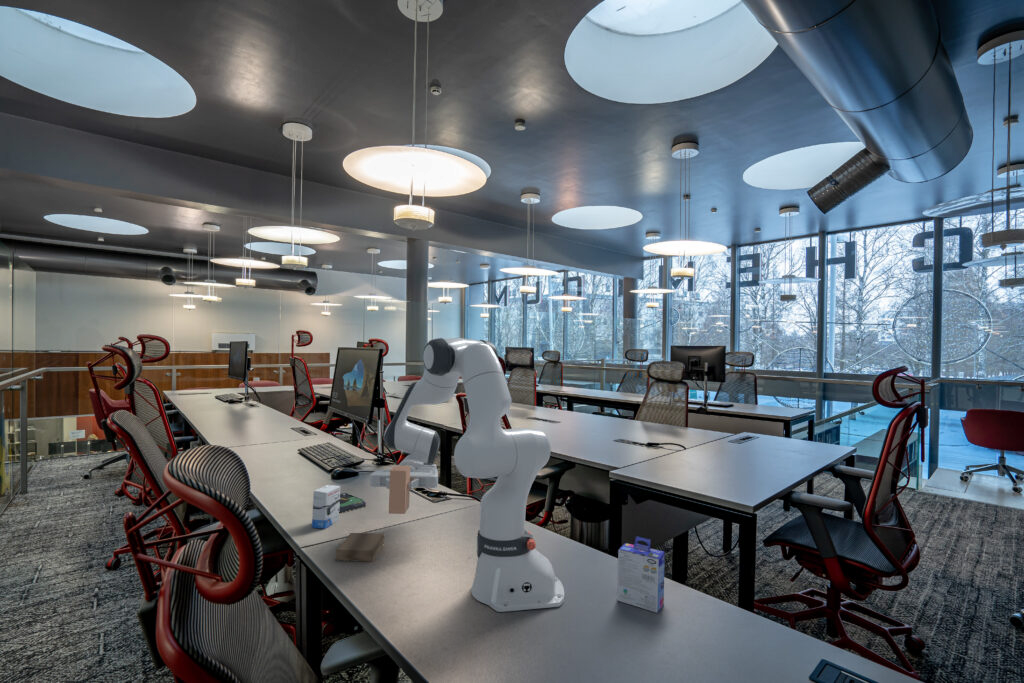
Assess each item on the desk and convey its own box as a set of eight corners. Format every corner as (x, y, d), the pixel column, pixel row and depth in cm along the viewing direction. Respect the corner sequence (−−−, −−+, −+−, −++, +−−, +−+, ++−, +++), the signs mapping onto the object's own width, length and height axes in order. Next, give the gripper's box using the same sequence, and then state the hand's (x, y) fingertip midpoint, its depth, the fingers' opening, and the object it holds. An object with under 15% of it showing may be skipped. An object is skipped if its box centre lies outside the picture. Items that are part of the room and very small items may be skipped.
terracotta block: (409, 506, 137) (410, 465, 138) (404, 513, 132) (406, 470, 132) (393, 506, 137) (395, 465, 138) (388, 513, 131) (390, 470, 132)
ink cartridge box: (665, 603, 110) (666, 541, 110) (658, 614, 105) (659, 549, 105) (624, 591, 115) (625, 532, 115) (616, 601, 110) (617, 539, 111)
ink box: (324, 529, 150) (326, 492, 150) (311, 528, 151) (312, 491, 151) (339, 520, 158) (341, 485, 159) (326, 519, 159) (327, 484, 160)
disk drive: (319, 505, 175) (340, 514, 165) (319, 498, 175) (340, 506, 165) (345, 499, 183) (366, 507, 173) (345, 492, 183) (366, 500, 173)
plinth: (384, 543, 140) (384, 533, 140) (372, 561, 128) (373, 550, 128) (350, 543, 140) (350, 532, 140) (336, 560, 128) (336, 549, 128)
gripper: (376, 462, 148) (363, 474, 134) (441, 464, 148) (434, 475, 134) (375, 483, 148) (362, 496, 134) (440, 484, 148) (434, 497, 134)
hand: (399, 486), depth 134 cm, fingers closed on terracotta block, 4 cm apart
